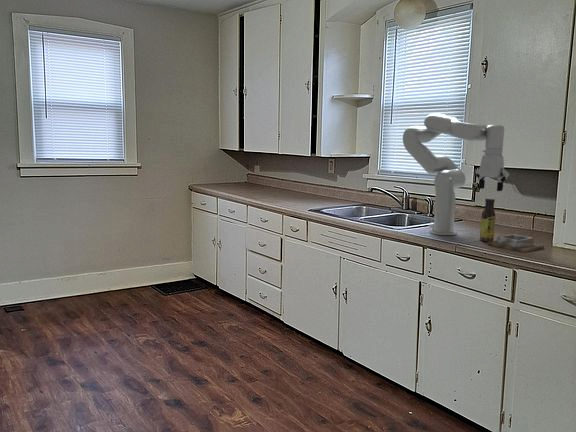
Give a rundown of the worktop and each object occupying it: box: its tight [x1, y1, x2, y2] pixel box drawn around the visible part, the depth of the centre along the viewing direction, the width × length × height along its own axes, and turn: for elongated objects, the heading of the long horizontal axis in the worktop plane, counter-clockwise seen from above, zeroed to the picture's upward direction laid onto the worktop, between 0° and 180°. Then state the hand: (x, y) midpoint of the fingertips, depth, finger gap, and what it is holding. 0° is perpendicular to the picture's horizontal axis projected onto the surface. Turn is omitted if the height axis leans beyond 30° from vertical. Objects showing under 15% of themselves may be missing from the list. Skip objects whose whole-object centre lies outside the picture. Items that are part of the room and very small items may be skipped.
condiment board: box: [486, 233, 545, 253], centre depth 240 cm, size 18×15×4 cm
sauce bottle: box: [479, 198, 497, 242], centre depth 252 cm, size 7×6×20 cm
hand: (490, 189), depth 249 cm, fingers open, 9 cm apart
